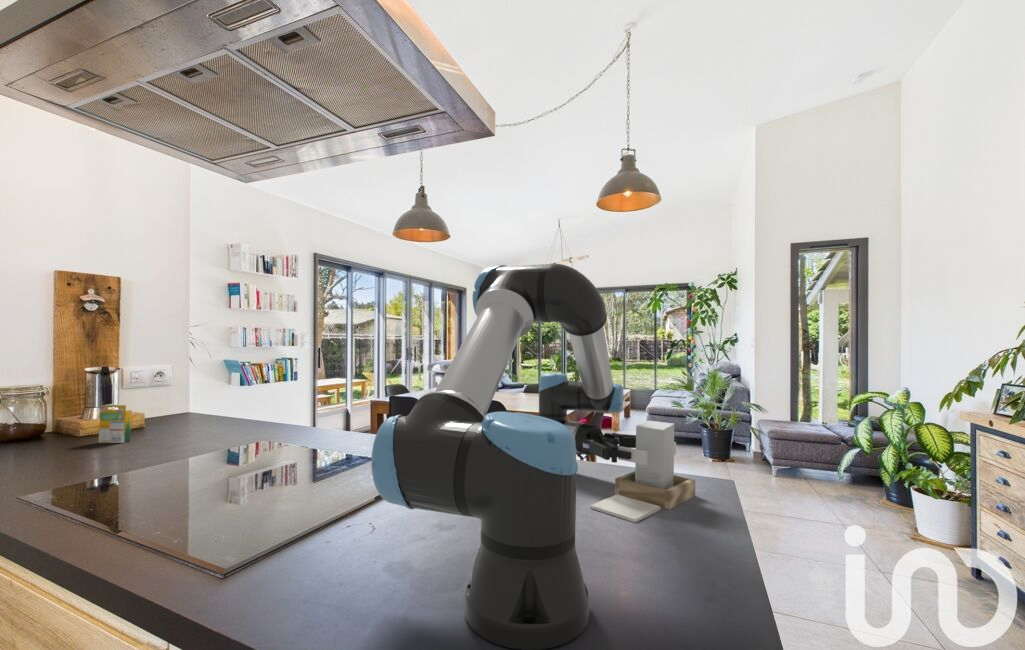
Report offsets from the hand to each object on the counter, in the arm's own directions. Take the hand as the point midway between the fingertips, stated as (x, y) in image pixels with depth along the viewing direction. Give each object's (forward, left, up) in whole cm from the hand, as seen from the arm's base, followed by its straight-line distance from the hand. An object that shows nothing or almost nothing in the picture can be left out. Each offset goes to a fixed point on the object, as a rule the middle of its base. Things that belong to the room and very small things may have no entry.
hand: (661, 453), depth 100 cm
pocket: (0, +1, -9) cm, 9 cm away
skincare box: (0, +1, -10) cm, 10 cm away
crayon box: (-80, +141, -10) cm, 163 cm away
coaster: (-13, +1, -9) cm, 16 cm away
